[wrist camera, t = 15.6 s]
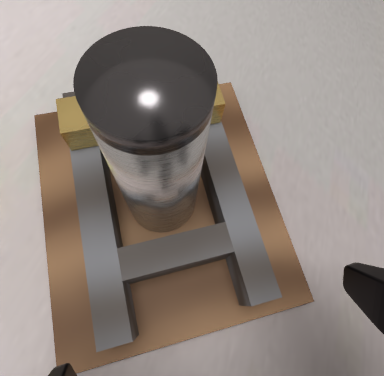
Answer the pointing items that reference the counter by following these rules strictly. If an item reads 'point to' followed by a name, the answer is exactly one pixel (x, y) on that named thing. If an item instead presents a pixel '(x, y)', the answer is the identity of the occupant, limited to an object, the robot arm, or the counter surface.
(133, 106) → the metal canister
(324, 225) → the counter surface
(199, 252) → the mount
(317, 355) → the counter surface
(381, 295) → the robot arm
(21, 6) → the counter surface
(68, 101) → the bar
